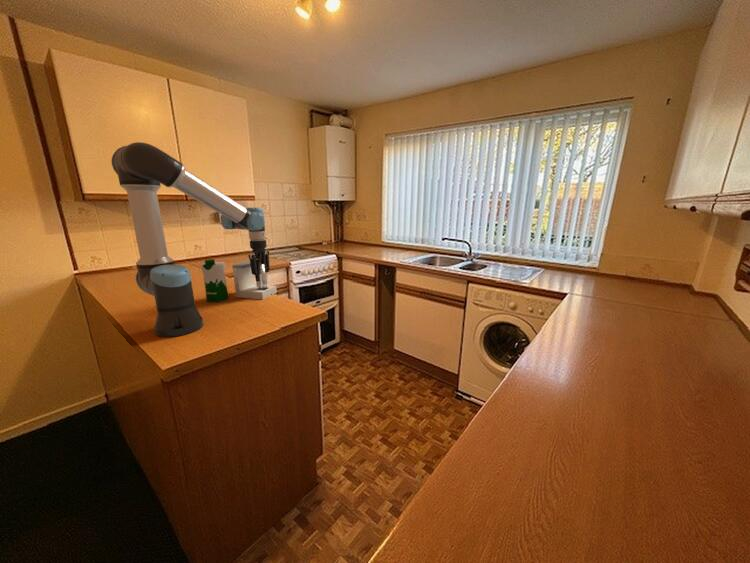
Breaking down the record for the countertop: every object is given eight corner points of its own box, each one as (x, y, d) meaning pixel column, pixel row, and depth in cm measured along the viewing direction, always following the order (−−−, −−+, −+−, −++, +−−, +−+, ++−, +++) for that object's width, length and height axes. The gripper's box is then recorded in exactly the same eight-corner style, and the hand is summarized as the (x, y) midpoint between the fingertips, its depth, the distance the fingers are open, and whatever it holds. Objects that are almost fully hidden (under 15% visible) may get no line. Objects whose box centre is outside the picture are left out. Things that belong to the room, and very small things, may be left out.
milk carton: (203, 302, 141) (197, 260, 136) (215, 296, 150) (209, 257, 145) (221, 302, 140) (215, 261, 135) (231, 297, 149) (226, 257, 144)
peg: (257, 293, 150) (254, 264, 146) (262, 291, 154) (259, 263, 150) (264, 294, 149) (261, 265, 145) (268, 292, 153) (266, 263, 149)
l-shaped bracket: (262, 299, 145) (259, 266, 141) (236, 296, 149) (232, 265, 145) (276, 292, 156) (274, 262, 152) (251, 290, 160) (248, 261, 156)
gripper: (253, 242, 136) (258, 291, 142) (274, 238, 152) (278, 282, 157) (239, 241, 138) (244, 289, 144) (261, 237, 154) (266, 281, 159)
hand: (262, 285), depth 150 cm, fingers closed on peg, 4 cm apart
